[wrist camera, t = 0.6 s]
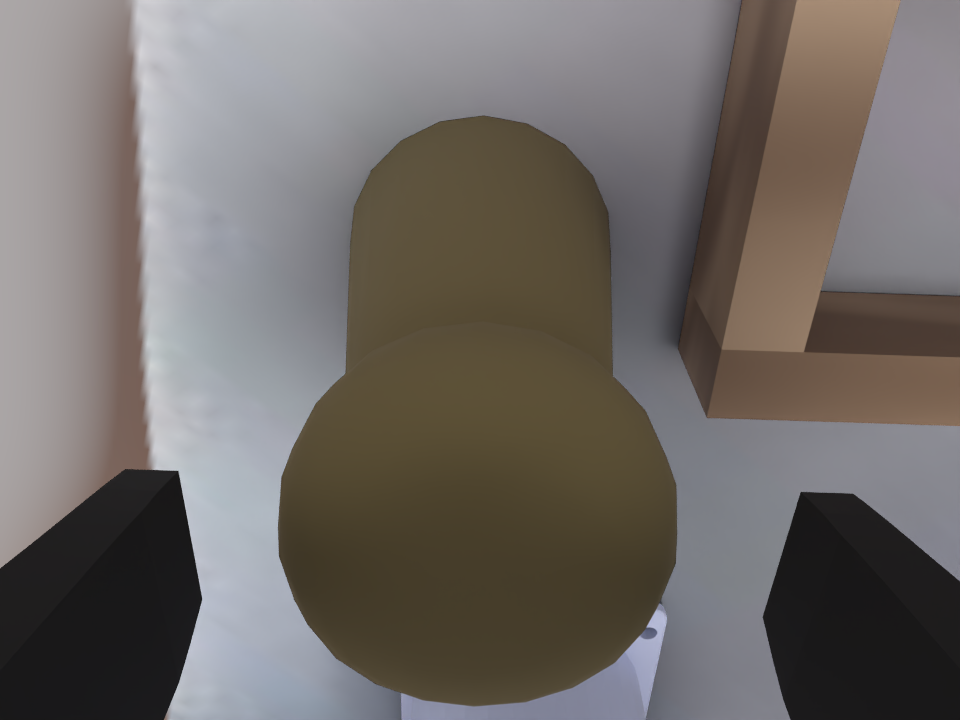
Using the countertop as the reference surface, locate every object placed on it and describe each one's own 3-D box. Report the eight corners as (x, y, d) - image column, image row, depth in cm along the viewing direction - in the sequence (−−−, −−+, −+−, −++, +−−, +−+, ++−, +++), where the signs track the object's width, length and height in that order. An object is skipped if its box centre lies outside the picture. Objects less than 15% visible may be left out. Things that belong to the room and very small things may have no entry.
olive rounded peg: (391, 74, 17) (271, 320, 7) (655, 169, 18) (851, 494, 8) (322, 318, 20) (171, 721, 10) (552, 388, 21) (611, 814, 11)
